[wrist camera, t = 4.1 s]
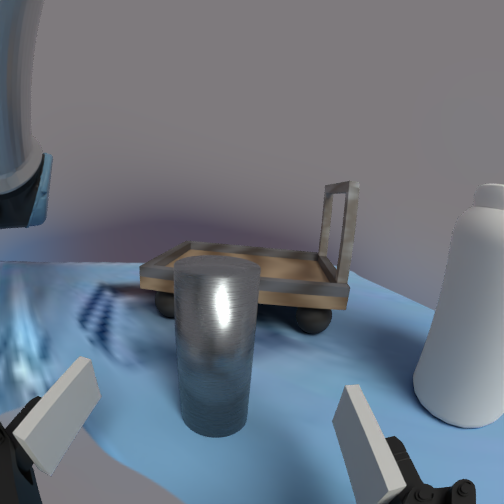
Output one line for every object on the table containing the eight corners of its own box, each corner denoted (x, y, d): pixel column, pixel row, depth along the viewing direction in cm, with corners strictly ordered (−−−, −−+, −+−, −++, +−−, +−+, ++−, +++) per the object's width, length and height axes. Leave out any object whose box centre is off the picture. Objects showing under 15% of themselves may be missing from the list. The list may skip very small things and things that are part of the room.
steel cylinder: (174, 429, 16) (159, 272, 13) (191, 389, 21) (189, 252, 18) (243, 441, 16) (257, 283, 13) (249, 398, 21) (262, 259, 18)
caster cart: (142, 321, 32) (141, 167, 28) (185, 279, 49) (189, 176, 45) (338, 344, 30) (363, 182, 26) (318, 292, 48) (330, 186, 44)
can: (399, 360, 26) (436, 179, 22) (479, 361, 23) (518, 202, 19) (424, 438, 14) (506, 169, 10) (519, 421, 11) (589, 210, 7)
